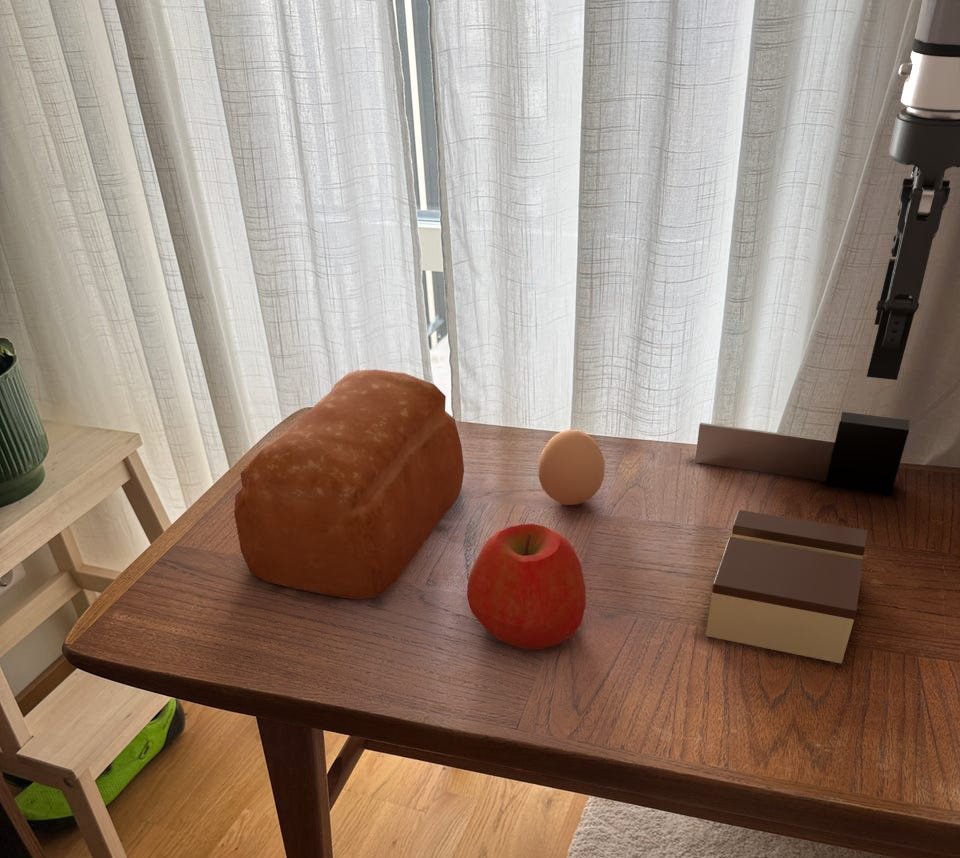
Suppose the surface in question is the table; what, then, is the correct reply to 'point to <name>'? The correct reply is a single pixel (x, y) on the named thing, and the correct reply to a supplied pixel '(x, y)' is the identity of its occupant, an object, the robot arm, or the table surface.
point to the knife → (814, 452)
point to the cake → (785, 599)
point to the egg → (571, 467)
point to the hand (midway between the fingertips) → (884, 349)
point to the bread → (351, 487)
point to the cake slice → (800, 534)
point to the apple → (528, 587)
